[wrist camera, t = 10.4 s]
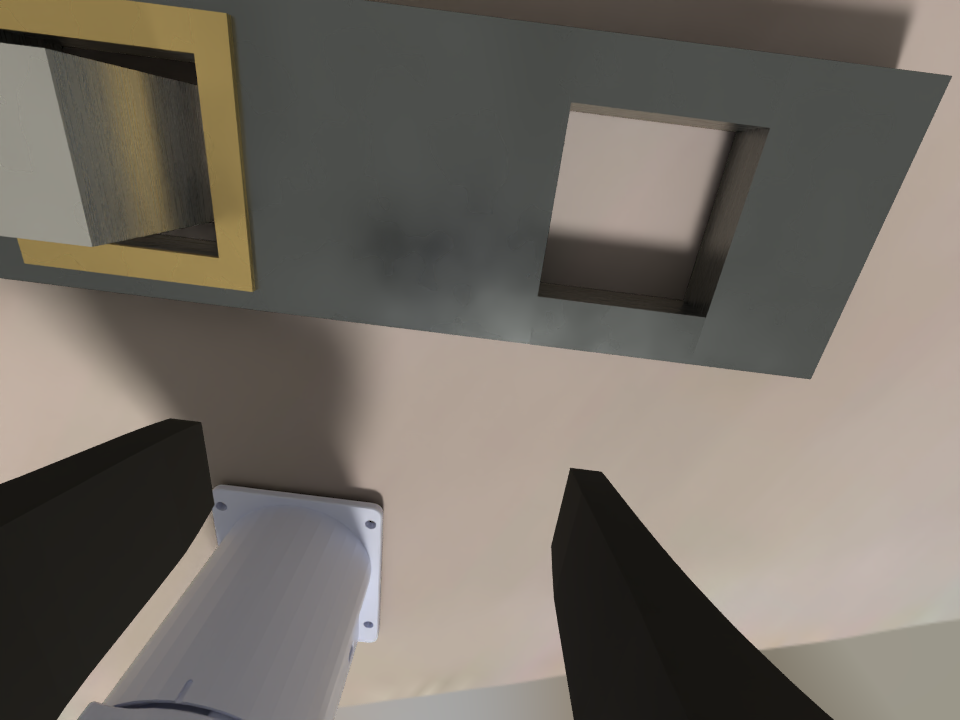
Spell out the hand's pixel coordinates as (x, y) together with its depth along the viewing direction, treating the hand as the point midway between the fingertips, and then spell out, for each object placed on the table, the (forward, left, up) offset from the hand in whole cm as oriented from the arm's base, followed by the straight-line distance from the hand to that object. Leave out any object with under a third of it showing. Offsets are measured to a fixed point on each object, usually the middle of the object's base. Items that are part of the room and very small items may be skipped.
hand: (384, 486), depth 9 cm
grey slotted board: (+5, +2, -9) cm, 11 cm away
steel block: (+5, +10, -10) cm, 15 cm away
